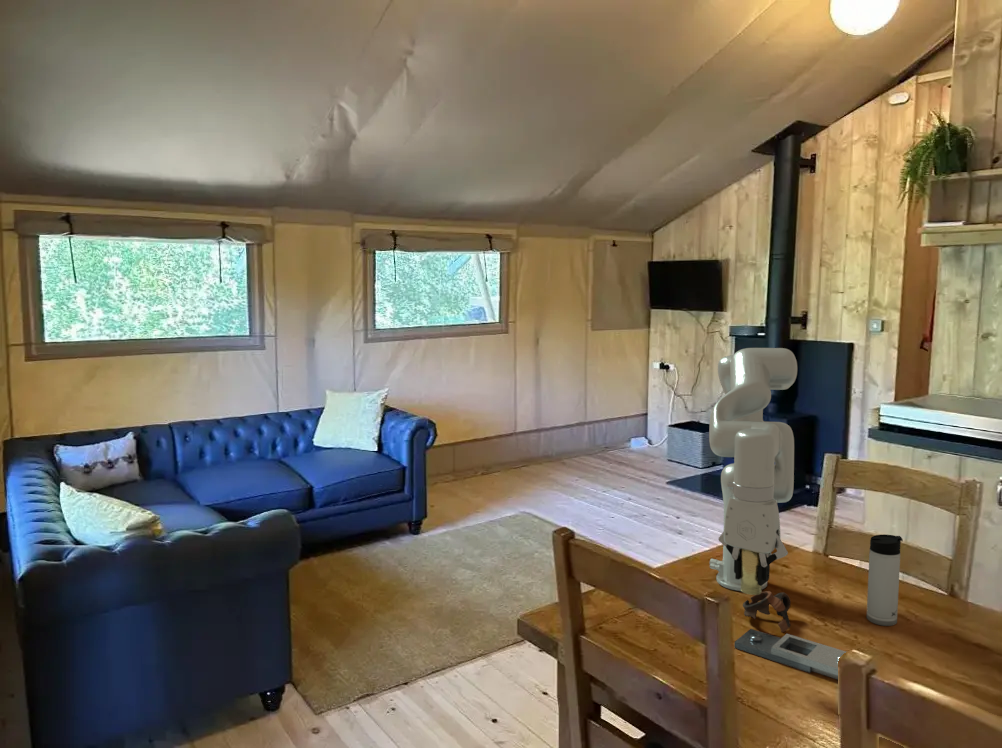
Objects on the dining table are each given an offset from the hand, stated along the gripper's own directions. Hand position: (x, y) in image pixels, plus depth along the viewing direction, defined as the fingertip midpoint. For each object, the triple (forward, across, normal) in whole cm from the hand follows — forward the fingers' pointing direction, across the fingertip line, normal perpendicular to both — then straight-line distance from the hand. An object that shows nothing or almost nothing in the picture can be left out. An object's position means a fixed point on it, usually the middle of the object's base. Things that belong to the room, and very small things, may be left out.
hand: (751, 579), depth 152 cm
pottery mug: (+19, -5, +22) cm, 30 cm away
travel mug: (+19, +14, +40) cm, 46 cm away
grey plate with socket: (+19, +6, +10) cm, 22 cm away
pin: (+2, 0, 0) cm, 2 cm away
